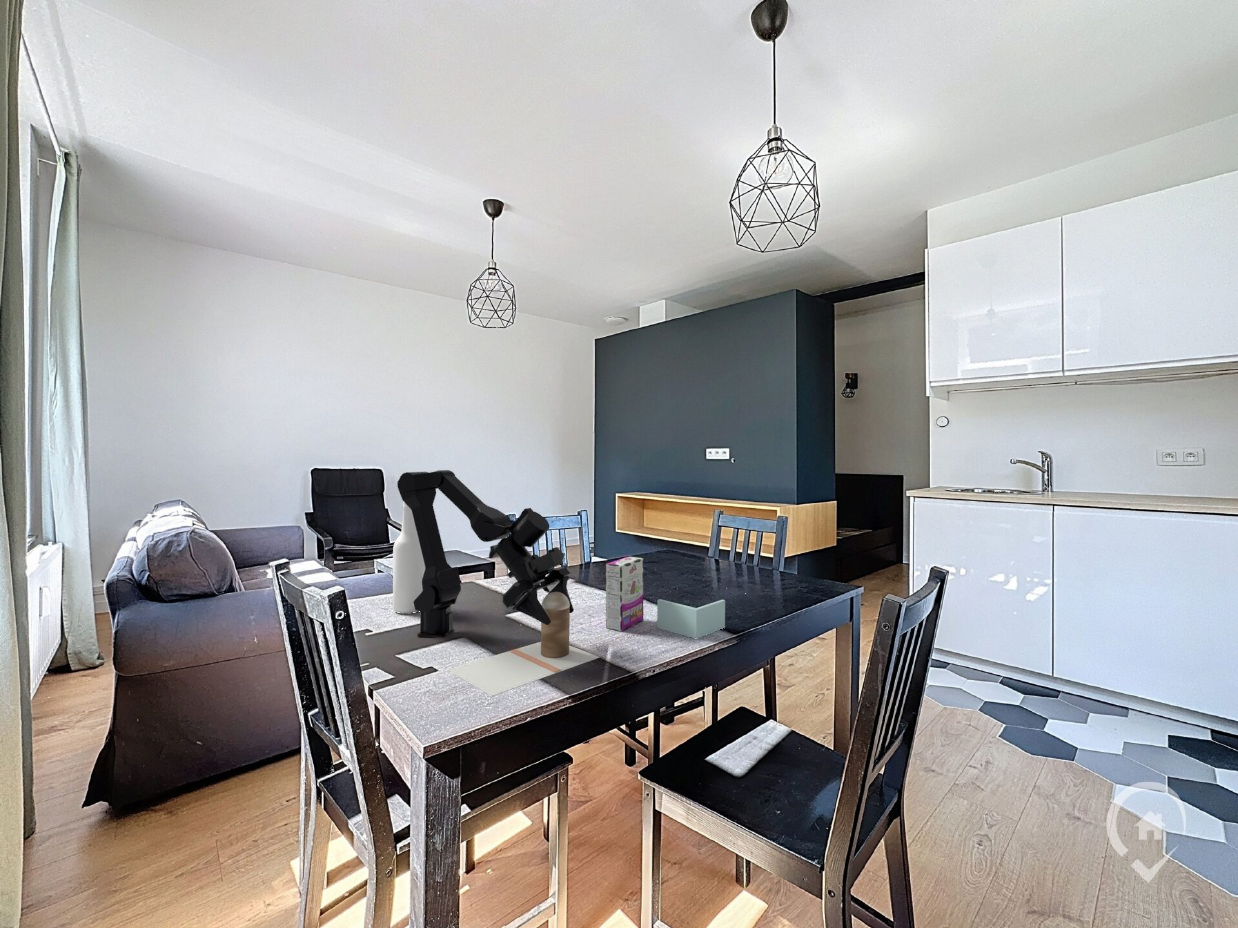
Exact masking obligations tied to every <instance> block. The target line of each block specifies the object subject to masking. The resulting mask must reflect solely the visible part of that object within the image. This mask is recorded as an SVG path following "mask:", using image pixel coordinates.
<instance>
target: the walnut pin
mask: <svg viewBox="0 0 1238 928" xmlns="http://www.w3.org/2000/svg"><path fill="white" fill-rule="evenodd" d="M548 593H549V592H548ZM548 593H547V594H548ZM547 594H546V595H545V597H543V599H542V602H541V605H542V607H543V608H544V610H545V612H546V613H547V615H548V617H549V618H550V620H551V623H550V624H549V625H546V624H544V623H542V622H540V624H541V625H540V642H541V655H542V656H544V657H547V658H561V657H565V656H567V655H568V654H569V645H570V623H571V621H570V618H571V617H570V616H571V613H570V603H569V600H568V598H567V597H566V596H565V595H564V594H563V593H560V592H552V593H549V594H548V595H547Z"/></svg>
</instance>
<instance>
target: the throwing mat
mask: <svg viewBox="0 0 1238 928" xmlns="http://www.w3.org/2000/svg"><path fill="white" fill-rule="evenodd" d="M598 658H599V659H600V658H601V657H600V656H599V655H595V654H592V653H590V652H588V651H585V650H582V649H580V648H577V647H575V646H573V645H570V644H569V654H568V655H567V656H565V657H561V658H547V657H544V656H542V655H541V641H537V642H536V643H532V644H528V645H525V646H521V647H518V648H514V649H511V650H508V651H505V652H501V653H498V654H494V655H492V656H488V657H484V658H481V659H479V660H475V661H471V662H468V663H465V664H461V665H458V666H455V667H451V668H448V669H446V670H447V671H448V672H450V673H452V674H453V675H455V676H457V677H458V678H460V679H462V680H463V681H465V682H467V683H469V684H471V686H474V687H476V688H477V689H478V690H481V691H482V692H484V693H485V694H487V695H489V696H490V697H494V696H496V695H499V694H502V693H504V692H508V691H509V690H510V691H511V690H514V689H515V688H518V687H521V686H524V685H527V684H529V683H532V682H535V681H538V680H541V679H543V678H545V677H550V676H553V675H554V674H558V673H560V672H563V671H567V670H569V669H572V668H575V667H577V666H579V665H582V664H585V663H588V662H591V661H594V660H596V659H598Z"/></svg>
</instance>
